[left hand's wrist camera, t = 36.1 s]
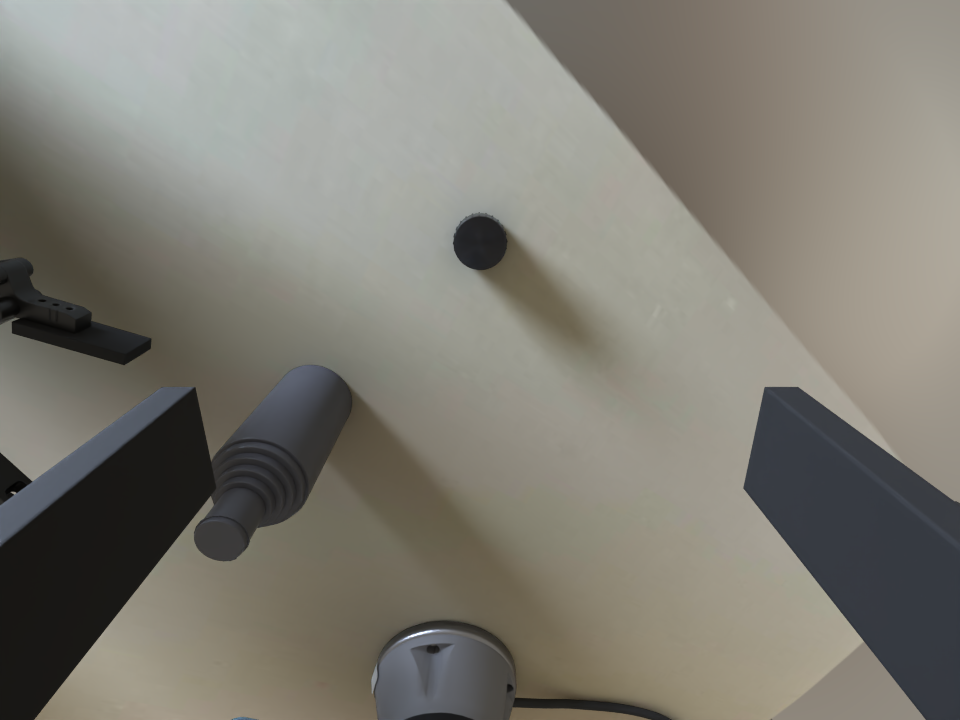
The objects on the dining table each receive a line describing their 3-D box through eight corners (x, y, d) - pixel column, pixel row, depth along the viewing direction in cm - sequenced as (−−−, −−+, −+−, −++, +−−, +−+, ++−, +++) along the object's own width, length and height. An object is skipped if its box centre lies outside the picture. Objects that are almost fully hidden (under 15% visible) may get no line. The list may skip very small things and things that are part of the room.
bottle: (264, 378, 46) (135, 512, 29) (332, 354, 45) (242, 477, 28) (298, 441, 48) (198, 599, 31) (364, 419, 47) (298, 569, 30)
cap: (476, 275, 43) (476, 281, 41) (443, 235, 42) (441, 239, 39) (516, 242, 42) (518, 247, 40) (483, 201, 41) (483, 203, 38)
